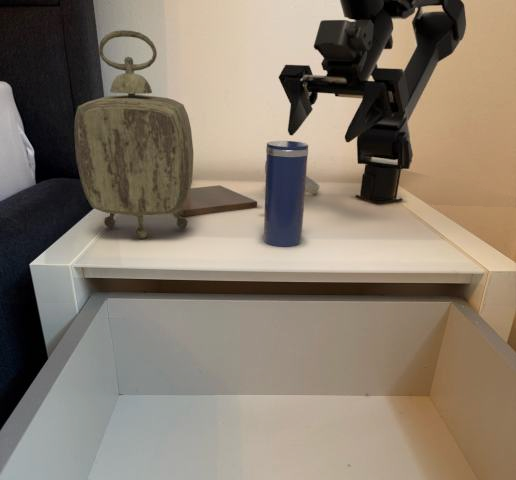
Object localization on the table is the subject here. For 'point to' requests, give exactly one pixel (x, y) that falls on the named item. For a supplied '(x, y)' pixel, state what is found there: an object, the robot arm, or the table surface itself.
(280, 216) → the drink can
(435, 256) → the table surface
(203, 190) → the desk pad
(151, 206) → the tabletop clock
